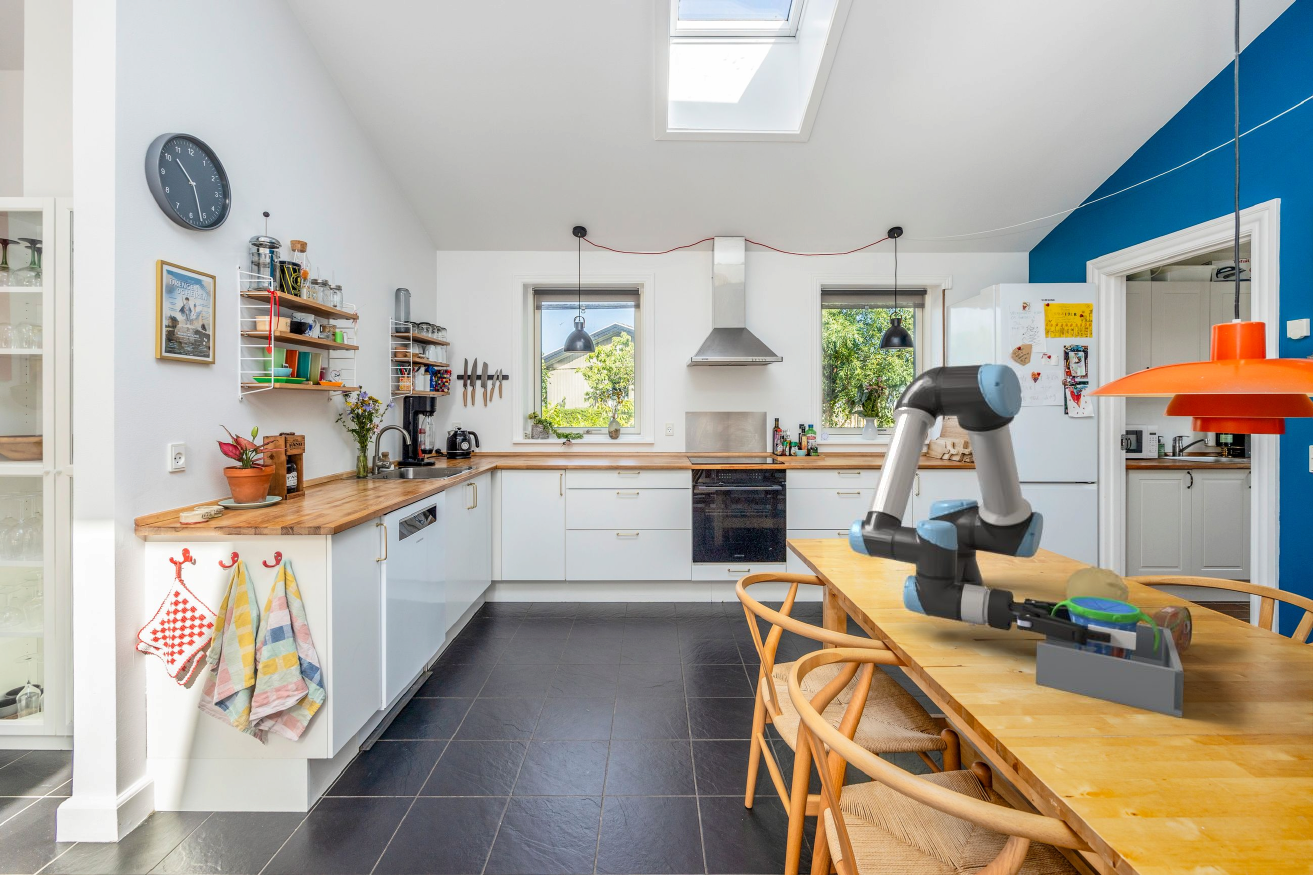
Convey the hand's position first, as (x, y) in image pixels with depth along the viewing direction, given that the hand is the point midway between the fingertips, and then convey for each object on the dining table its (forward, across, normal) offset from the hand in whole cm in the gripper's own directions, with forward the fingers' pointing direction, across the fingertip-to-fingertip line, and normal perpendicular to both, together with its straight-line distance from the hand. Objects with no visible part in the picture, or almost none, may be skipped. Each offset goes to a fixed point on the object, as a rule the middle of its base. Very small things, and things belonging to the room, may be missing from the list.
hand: (1134, 632), depth 105 cm
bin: (-3, 0, -8) cm, 9 cm away
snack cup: (-4, 0, -6) cm, 8 cm away
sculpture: (-5, -42, -9) cm, 43 cm away
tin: (+7, -22, -9) cm, 25 cm away
